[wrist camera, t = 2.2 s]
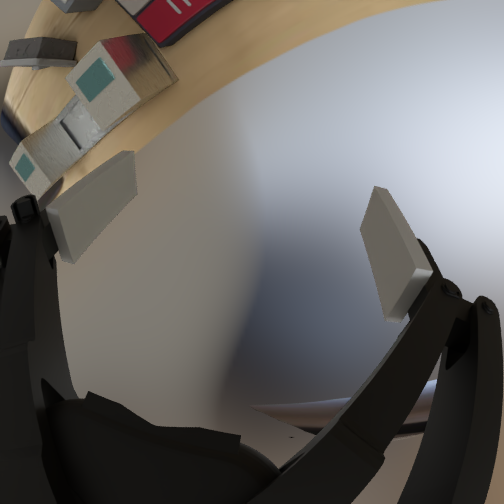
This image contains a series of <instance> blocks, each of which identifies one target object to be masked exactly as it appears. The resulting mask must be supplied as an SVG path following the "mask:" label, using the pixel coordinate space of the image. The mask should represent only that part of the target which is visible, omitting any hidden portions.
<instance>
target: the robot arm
mask: <svg viewBox="0 0 504 504" xmlns="http://www.w3.org/2000/svg"><path fill="white" fill-rule="evenodd" d="M136 195H137V186H136V173H135V159H134V151H121V152H120V153H118V154H117V155H115V156H114V157H112V158H111V159H109V160H108V161H106V162H105V163H103V164H102V165H100V166H99V167H98V168H96V169H95V170H93V171H92V172H90V173H89V174H88V175H86V176H85V177H84V178H82V179H81V180H80V181H78V182H77V183H76V184H74V185H73V186H72V187H70V188H69V189H68V190H66V191H65V192H64V193H63V194H61V195H60V196H59V197H58V198H56V199H55V200H54V201H53V202H52V203H50V204H49V205H48V206H47V207H46V208H45V209H44V210H43V211H41V212H40V210H39V207H38V203H37V199H36V196H35V195H26V196H23V197H21V198H19V199H17V200H16V201H15V202H14V203H12V205H11V209H12V213H13V216H14V219H15V222H16V224H11V225H9V222H8V219H7V216H0V504H351V503H352V502H353V501H354V499H355V498H356V497H357V496H358V495H359V494H360V492H361V491H362V490H363V489H364V488H365V487H366V486H367V484H368V483H369V482H370V481H371V479H372V478H373V477H374V476H375V474H376V473H377V472H378V470H379V469H380V467H381V466H382V464H383V463H384V460H385V457H384V455H383V453H384V451H385V449H386V448H387V446H388V445H389V444H390V442H391V441H392V439H393V438H394V436H395V435H396V433H397V432H398V430H399V429H400V427H401V426H402V424H403V423H404V421H405V420H406V418H407V416H408V415H409V413H410V411H411V410H412V408H413V406H414V405H415V403H416V401H417V399H418V398H419V396H420V394H421V392H422V390H423V389H424V387H425V385H426V383H427V381H428V379H429V377H430V375H431V373H432V371H433V369H434V367H435V365H436V363H437V361H438V359H439V357H440V354H441V352H442V356H441V362H440V368H439V373H438V379H437V384H436V389H435V393H434V398H433V402H432V406H431V410H430V414H429V418H428V421H427V425H426V429H425V432H424V435H423V438H422V442H421V445H420V448H419V451H418V454H417V456H416V459H415V462H414V465H413V467H412V470H411V472H410V475H409V477H408V480H407V482H406V485H405V487H404V489H403V491H402V494H401V496H400V498H399V501H398V503H397V504H484V503H485V500H486V497H487V493H488V490H489V486H490V482H491V478H492V473H493V469H494V464H495V459H496V454H497V448H498V441H499V435H500V426H501V416H502V402H503V354H502V338H501V327H500V318H499V312H498V309H497V308H496V306H495V304H494V303H493V301H492V300H490V299H488V298H487V297H484V296H479V297H478V298H477V299H476V300H475V302H474V303H471V302H469V301H466V300H464V299H462V293H461V291H460V289H459V288H458V287H457V286H456V285H455V284H454V283H453V282H451V281H450V280H448V279H445V278H443V276H442V274H441V272H440V270H439V268H438V266H437V264H436V262H435V261H434V259H433V257H432V255H431V253H430V251H429V249H428V248H427V246H426V245H425V244H424V243H423V242H422V241H421V240H420V239H417V238H416V237H415V235H414V233H413V231H412V230H411V228H410V226H409V224H408V223H407V221H406V219H405V217H404V216H403V214H402V212H401V211H400V209H399V208H398V206H397V204H396V203H395V201H394V199H393V198H392V196H391V195H390V193H389V191H388V190H387V189H384V188H380V187H377V186H374V189H373V192H372V195H371V198H370V201H369V204H368V207H367V210H366V214H365V216H364V219H363V221H362V224H361V227H360V232H361V235H362V238H363V241H364V244H365V247H366V251H367V254H368V258H369V261H370V264H371V268H372V272H373V275H374V279H375V282H376V286H377V290H378V294H379V298H380V302H381V306H382V310H383V314H384V318H385V321H390V322H401V321H402V320H403V319H404V317H405V316H406V314H407V313H408V315H409V318H410V321H409V323H408V324H407V325H406V327H405V328H404V329H403V331H402V332H401V333H400V335H399V336H398V338H397V340H396V342H395V343H394V344H393V346H392V347H391V348H390V350H389V351H388V353H387V354H386V355H385V357H384V358H383V360H382V361H381V362H380V363H379V365H378V366H377V367H376V369H375V370H374V371H373V372H372V374H371V375H370V376H369V378H368V379H367V380H366V381H365V382H364V384H363V385H362V386H361V387H360V389H359V390H358V391H357V392H356V393H355V394H354V396H353V397H352V398H351V399H350V400H349V401H348V402H347V404H346V405H345V406H344V407H343V408H342V409H341V410H340V411H339V412H338V414H337V415H336V416H335V417H334V418H333V419H332V420H331V421H330V422H329V423H328V424H327V425H326V426H325V427H324V428H323V429H322V430H321V431H320V432H319V433H318V434H317V435H316V436H315V437H314V438H313V439H312V440H311V441H310V442H309V443H308V444H307V445H306V446H305V447H304V448H303V449H301V450H300V451H299V452H298V453H297V454H296V455H294V456H293V457H292V458H291V459H290V460H289V461H287V462H286V463H285V464H284V465H283V466H281V467H280V468H279V469H278V468H277V467H276V466H275V465H274V464H273V463H272V462H271V461H270V460H269V459H268V458H267V457H265V456H264V455H263V454H261V453H260V452H258V451H257V450H255V449H253V448H251V447H249V446H247V445H245V444H242V443H240V439H241V435H235V434H229V433H224V432H218V431H214V430H209V429H204V428H200V427H162V426H155V425H153V424H151V423H149V422H147V421H146V420H144V419H143V418H141V417H139V416H137V415H136V414H135V413H133V412H132V411H130V410H129V409H127V408H126V407H124V406H123V405H121V404H119V403H117V402H114V401H111V400H109V399H106V398H104V397H101V396H99V395H97V394H94V393H92V392H90V391H88V393H87V395H86V398H85V399H79V398H78V396H77V394H76V392H75V390H74V388H73V385H72V382H71V377H70V372H69V368H68V363H67V358H66V352H65V347H64V340H63V334H62V327H61V319H60V310H59V301H58V288H57V268H56V260H55V257H54V255H55V253H56V252H57V251H58V250H59V253H60V256H61V259H62V261H64V262H68V263H72V264H75V262H76V261H77V260H78V259H79V257H80V256H81V255H82V254H83V252H84V251H85V250H86V249H87V248H88V247H89V246H90V244H91V243H92V242H93V241H94V240H95V239H96V238H97V236H98V235H99V234H100V233H101V232H102V231H103V230H104V229H105V228H106V226H107V225H108V224H109V223H110V222H111V221H112V220H113V219H114V218H115V217H116V215H118V214H119V212H120V211H121V210H122V209H123V208H124V207H125V206H126V205H127V204H128V203H129V202H130V201H131V200H132V199H133V198H134V197H135V196H136Z"/></svg>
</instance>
